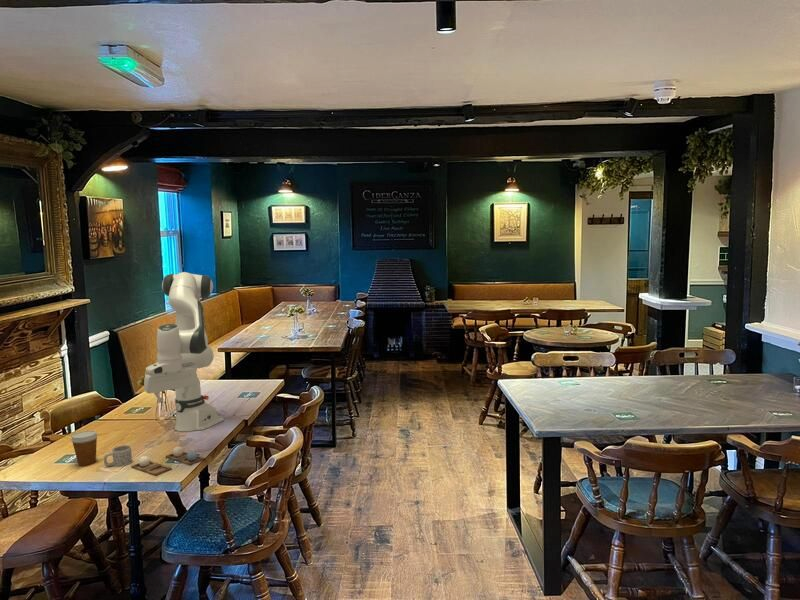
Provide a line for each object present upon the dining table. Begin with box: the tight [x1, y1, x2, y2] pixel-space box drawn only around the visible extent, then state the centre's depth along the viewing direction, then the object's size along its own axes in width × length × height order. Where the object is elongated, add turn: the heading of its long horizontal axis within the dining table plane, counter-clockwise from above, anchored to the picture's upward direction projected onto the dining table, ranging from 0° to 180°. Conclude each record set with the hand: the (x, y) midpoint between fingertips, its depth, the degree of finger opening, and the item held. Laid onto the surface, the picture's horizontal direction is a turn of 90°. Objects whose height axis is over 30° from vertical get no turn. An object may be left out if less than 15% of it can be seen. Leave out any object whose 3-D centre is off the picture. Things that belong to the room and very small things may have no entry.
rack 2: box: [165, 450, 206, 466], centre depth 237 cm, size 16×7×1 cm, turn 56°
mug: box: [103, 445, 133, 467], centre depth 234 cm, size 10×7×7 cm, turn 127°
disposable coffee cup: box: [70, 429, 99, 467], centre depth 237 cm, size 10×10×12 cm
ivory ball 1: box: [138, 455, 151, 467], centre depth 230 cm, size 4×4×4 cm
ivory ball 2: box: [172, 446, 184, 457], centre depth 239 cm, size 4×4×4 cm
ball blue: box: [187, 450, 198, 461], centre depth 234 cm, size 4×4×4 cm
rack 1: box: [130, 460, 173, 477], centre depth 228 cm, size 16×7×1 cm, turn 56°
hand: (172, 400), depth 235 cm, fingers open, 8 cm apart
